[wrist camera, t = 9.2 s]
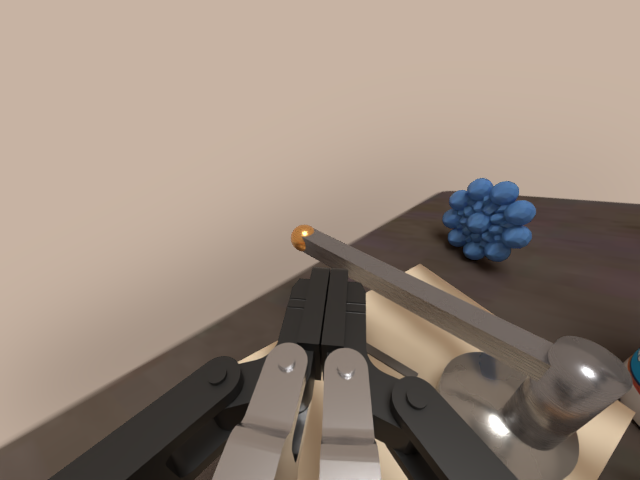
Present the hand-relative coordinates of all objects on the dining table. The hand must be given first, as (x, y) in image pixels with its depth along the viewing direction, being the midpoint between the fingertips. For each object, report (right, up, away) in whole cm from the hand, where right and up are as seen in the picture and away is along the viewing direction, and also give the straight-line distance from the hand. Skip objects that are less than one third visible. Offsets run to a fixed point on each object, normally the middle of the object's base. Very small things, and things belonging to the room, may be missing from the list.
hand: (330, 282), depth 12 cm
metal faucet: (+6, -8, +12) cm, 16 cm away
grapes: (+22, 0, +28) cm, 36 cm away
